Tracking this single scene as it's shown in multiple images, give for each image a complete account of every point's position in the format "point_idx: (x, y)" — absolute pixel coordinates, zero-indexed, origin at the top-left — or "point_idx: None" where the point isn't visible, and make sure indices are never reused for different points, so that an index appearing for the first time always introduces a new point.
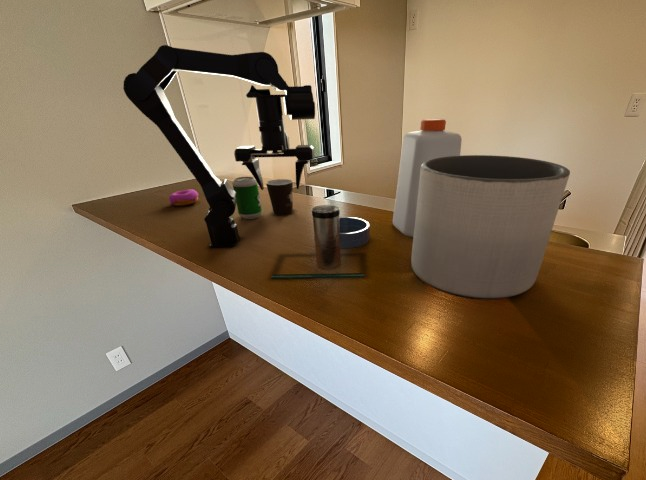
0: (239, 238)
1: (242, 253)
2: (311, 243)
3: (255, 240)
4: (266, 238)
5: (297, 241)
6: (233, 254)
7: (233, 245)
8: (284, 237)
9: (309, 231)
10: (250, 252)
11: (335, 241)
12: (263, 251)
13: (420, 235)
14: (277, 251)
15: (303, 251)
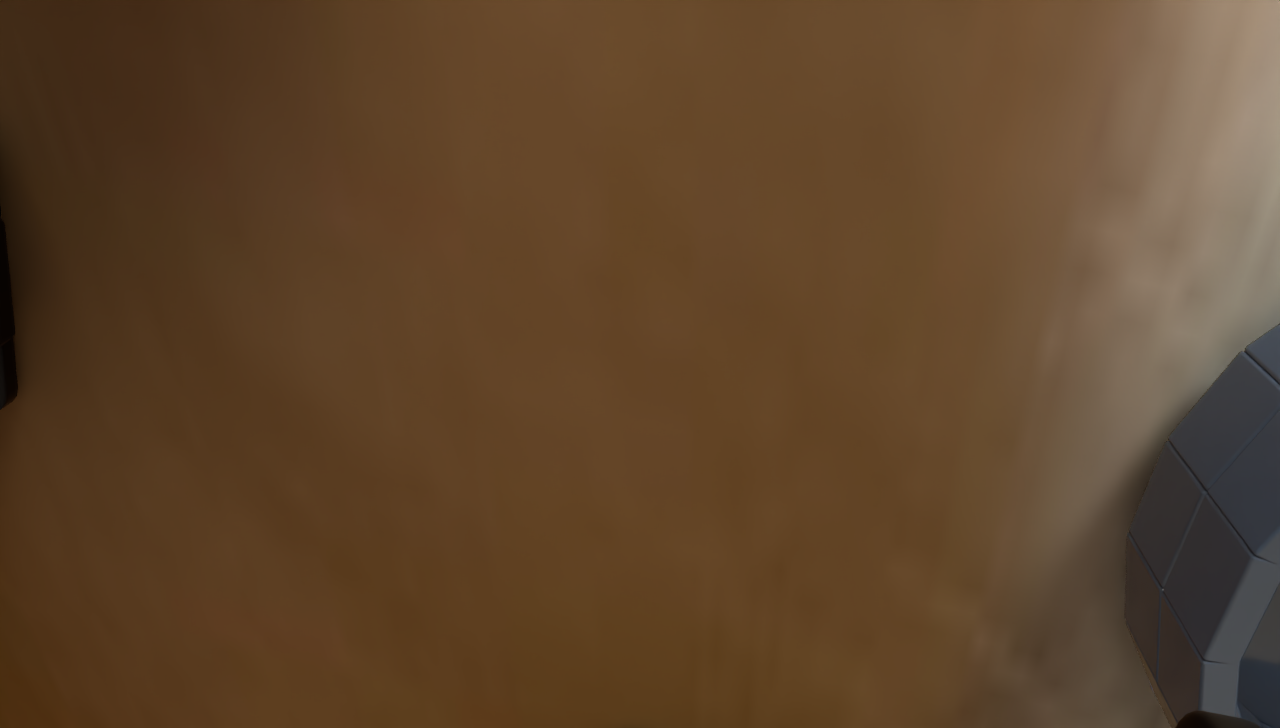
0: (4, 227)
1: (187, 579)
2: (998, 501)
3: (235, 227)
4: (377, 185)
5: (821, 395)
6: (98, 580)
7: (10, 401)
8: (641, 205)
9: (1071, 20)
10: (268, 575)
11: None
12: (409, 584)
13: None
14: (568, 620)
15: (862, 686)
